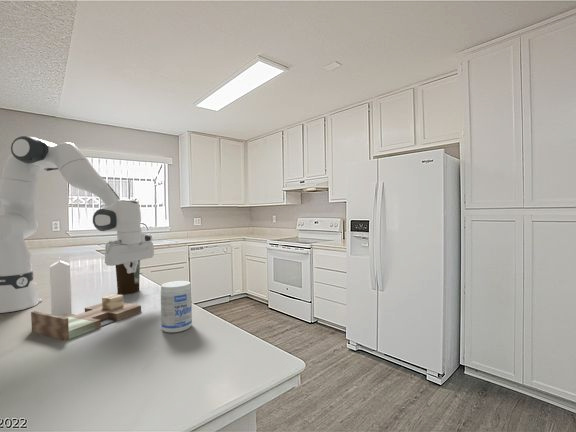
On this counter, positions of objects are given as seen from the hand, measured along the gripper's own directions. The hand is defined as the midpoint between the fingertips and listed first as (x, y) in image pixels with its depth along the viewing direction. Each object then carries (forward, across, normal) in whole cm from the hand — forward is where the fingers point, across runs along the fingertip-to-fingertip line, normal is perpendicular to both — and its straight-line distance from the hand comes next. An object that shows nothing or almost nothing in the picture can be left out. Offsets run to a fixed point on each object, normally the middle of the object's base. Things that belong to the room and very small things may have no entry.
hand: (131, 272), depth 122 cm
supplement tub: (+14, -11, -34) cm, 38 cm away
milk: (+14, -16, +18) cm, 28 cm away
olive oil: (+14, +16, +22) cm, 31 cm away
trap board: (+14, -17, 0) cm, 22 cm away
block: (+11, -8, 0) cm, 14 cm away
